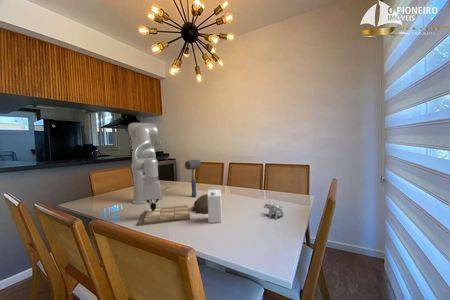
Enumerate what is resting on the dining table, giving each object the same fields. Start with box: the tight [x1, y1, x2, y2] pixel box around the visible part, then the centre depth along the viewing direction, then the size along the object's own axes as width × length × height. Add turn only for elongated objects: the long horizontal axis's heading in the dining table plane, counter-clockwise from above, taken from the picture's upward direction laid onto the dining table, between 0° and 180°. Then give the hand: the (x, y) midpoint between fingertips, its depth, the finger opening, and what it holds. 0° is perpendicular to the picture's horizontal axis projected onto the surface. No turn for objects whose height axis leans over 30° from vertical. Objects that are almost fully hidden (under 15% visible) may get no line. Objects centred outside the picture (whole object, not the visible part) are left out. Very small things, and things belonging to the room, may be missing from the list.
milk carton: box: [207, 186, 223, 224], centre depth 118 cm, size 7×7×19 cm
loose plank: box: [146, 206, 162, 216], centre depth 128 cm, size 13×8×2 cm, turn 13°
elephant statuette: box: [263, 201, 284, 220], centre depth 122 cm, size 9×12×8 cm
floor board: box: [137, 204, 191, 227], centre depth 127 cm, size 20×28×3 cm
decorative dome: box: [192, 193, 208, 215], centre depth 138 cm, size 19×20×10 cm
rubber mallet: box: [184, 159, 202, 198], centre depth 166 cm, size 12×8×30 cm, turn 143°
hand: (153, 210), depth 124 cm, fingers closed
